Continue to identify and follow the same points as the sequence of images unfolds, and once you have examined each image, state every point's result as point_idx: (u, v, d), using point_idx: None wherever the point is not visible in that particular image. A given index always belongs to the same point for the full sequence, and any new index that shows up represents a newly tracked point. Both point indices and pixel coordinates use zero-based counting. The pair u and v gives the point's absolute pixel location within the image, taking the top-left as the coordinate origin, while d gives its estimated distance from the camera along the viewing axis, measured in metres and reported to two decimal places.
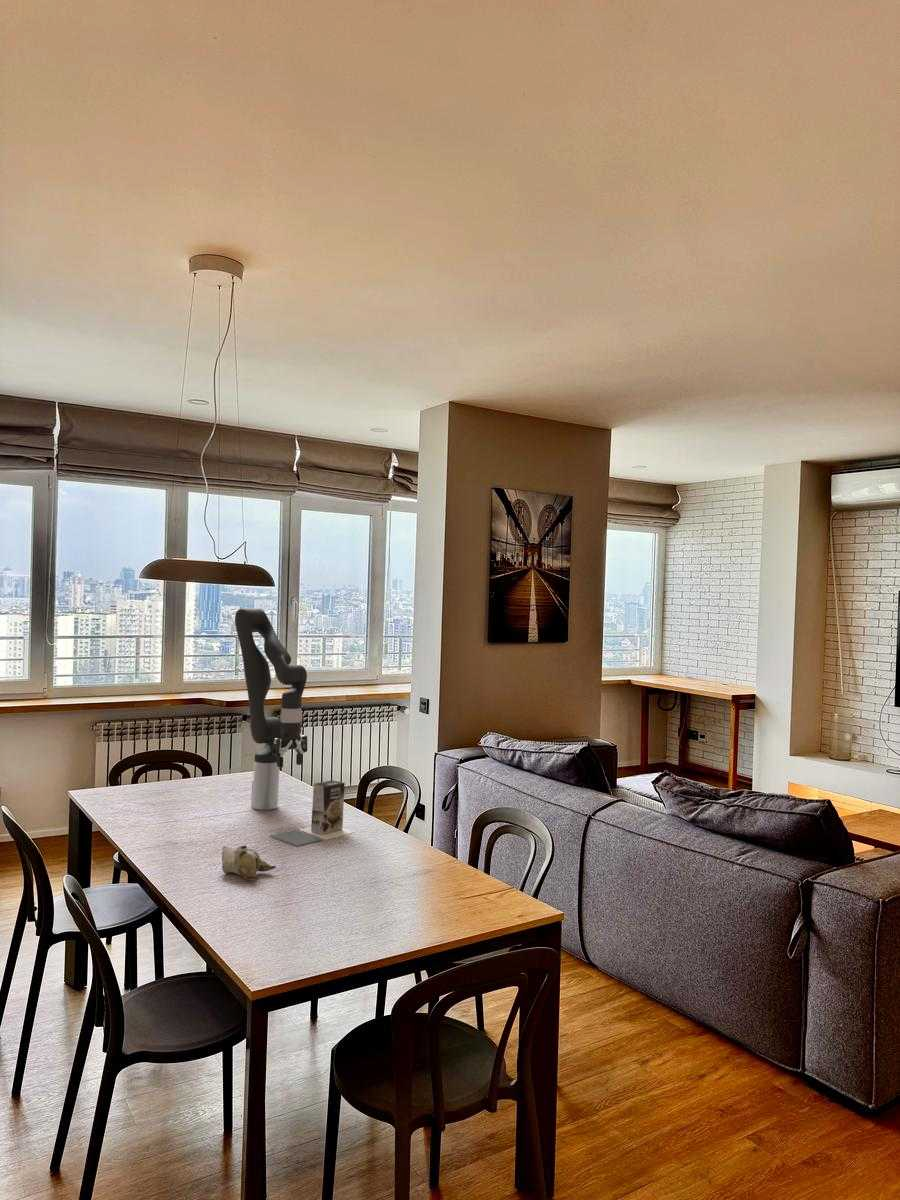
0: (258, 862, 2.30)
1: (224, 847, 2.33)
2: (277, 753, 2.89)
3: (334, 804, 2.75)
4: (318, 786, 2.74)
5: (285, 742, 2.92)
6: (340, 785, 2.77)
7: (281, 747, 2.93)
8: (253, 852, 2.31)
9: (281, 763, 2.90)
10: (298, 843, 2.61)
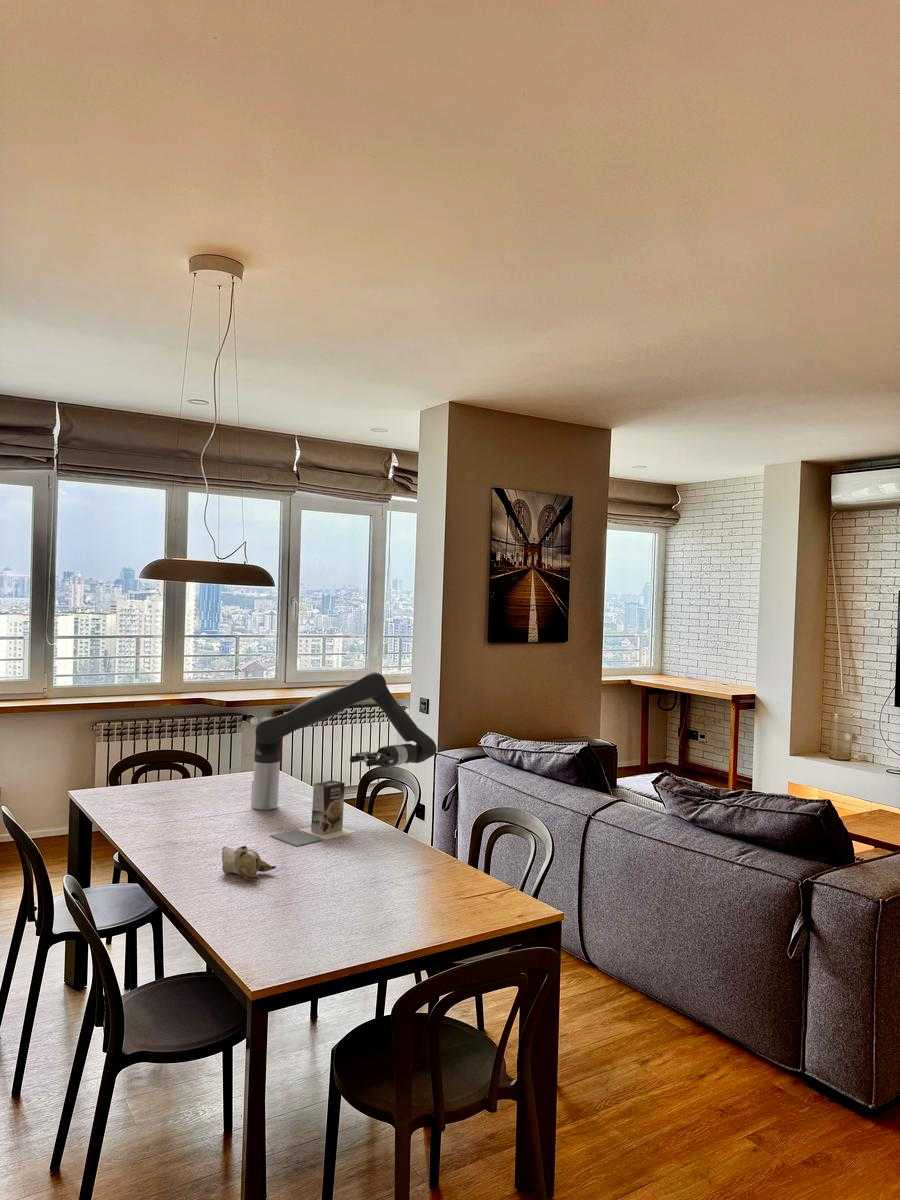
0: (258, 862, 2.30)
1: (224, 847, 2.33)
2: None
3: (334, 804, 2.75)
4: (318, 786, 2.74)
5: None
6: (340, 785, 2.77)
7: None
8: (253, 852, 2.31)
9: (370, 765, 2.85)
10: (298, 843, 2.61)
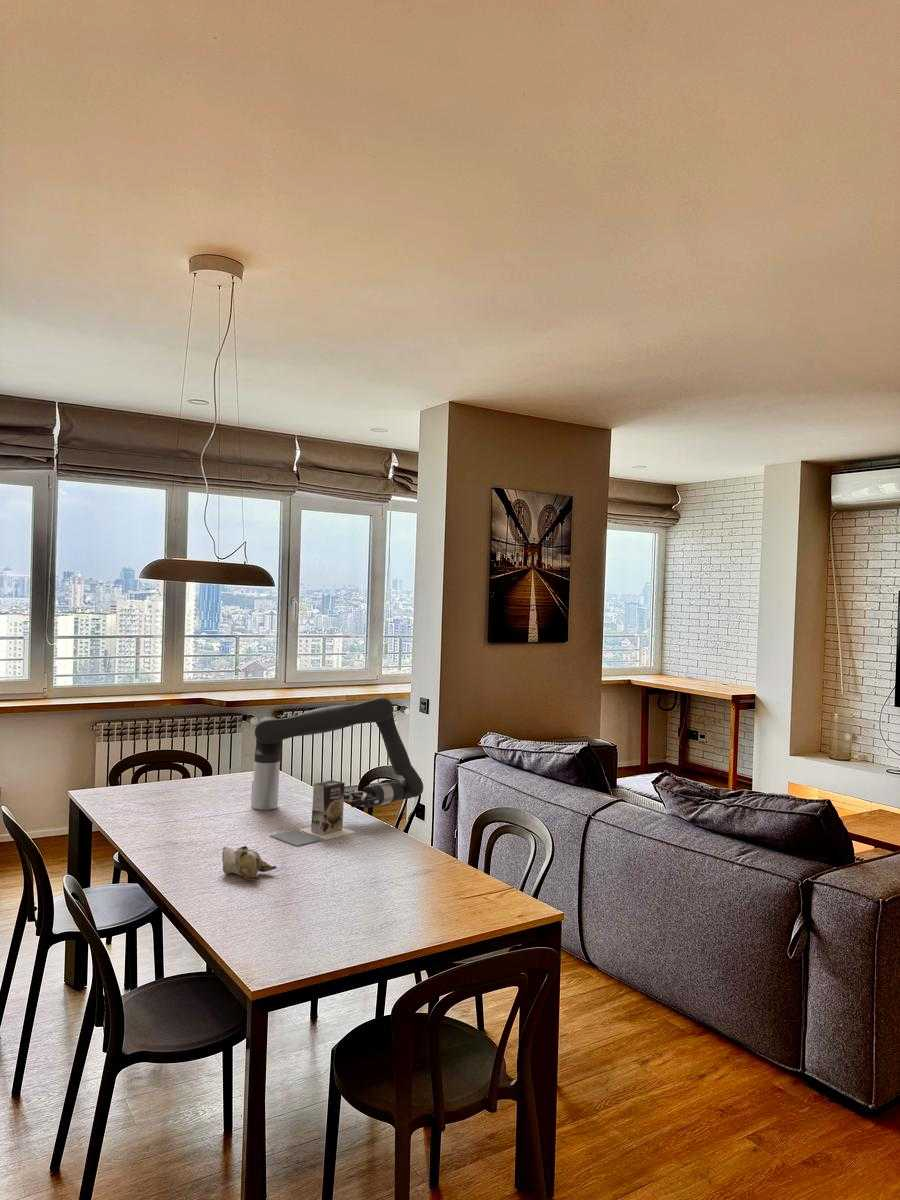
0: (259, 862, 2.30)
1: (224, 848, 2.33)
2: None
3: (334, 804, 2.75)
4: (318, 786, 2.74)
5: None
6: (340, 785, 2.77)
7: None
8: (254, 852, 2.30)
9: (355, 806, 2.80)
10: (298, 843, 2.61)
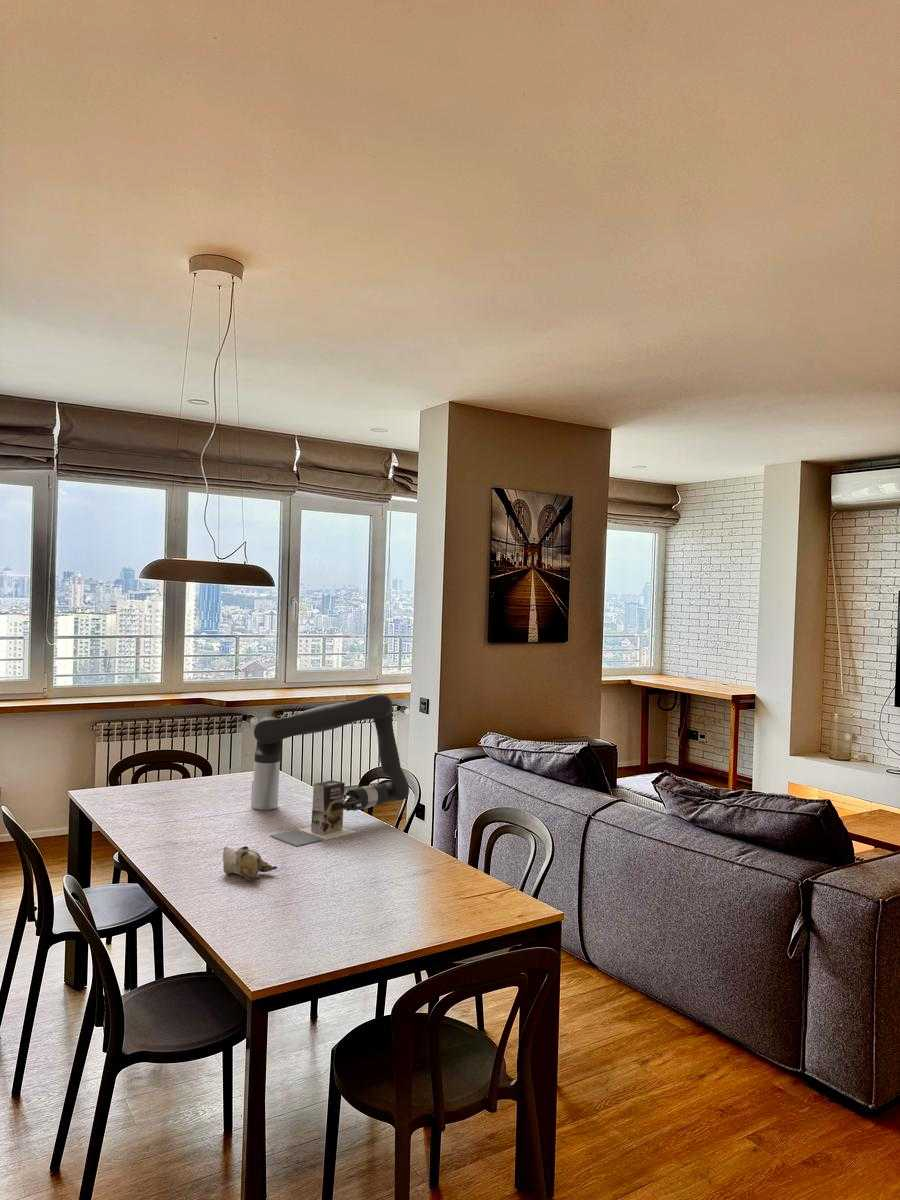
0: (260, 863, 2.30)
1: (225, 848, 2.33)
2: None
3: None
4: (318, 786, 2.74)
5: (351, 806, 2.81)
6: (340, 785, 2.77)
7: None
8: (254, 853, 2.30)
9: (336, 809, 2.74)
10: (298, 843, 2.61)
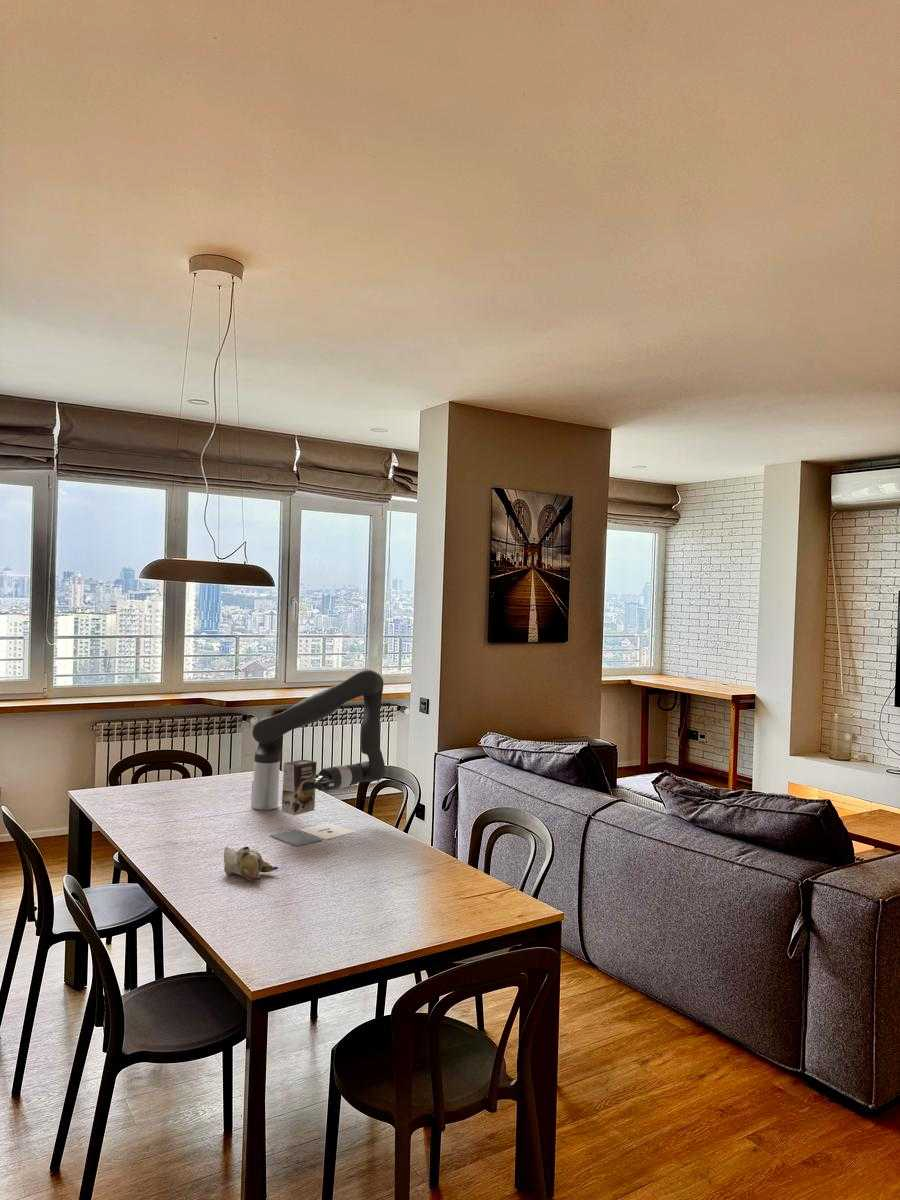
0: (261, 863, 2.29)
1: (226, 848, 2.32)
2: None
3: None
4: (288, 765, 2.64)
5: (323, 786, 2.71)
6: (312, 764, 2.67)
7: None
8: (255, 853, 2.30)
9: (307, 789, 2.65)
10: (298, 843, 2.61)
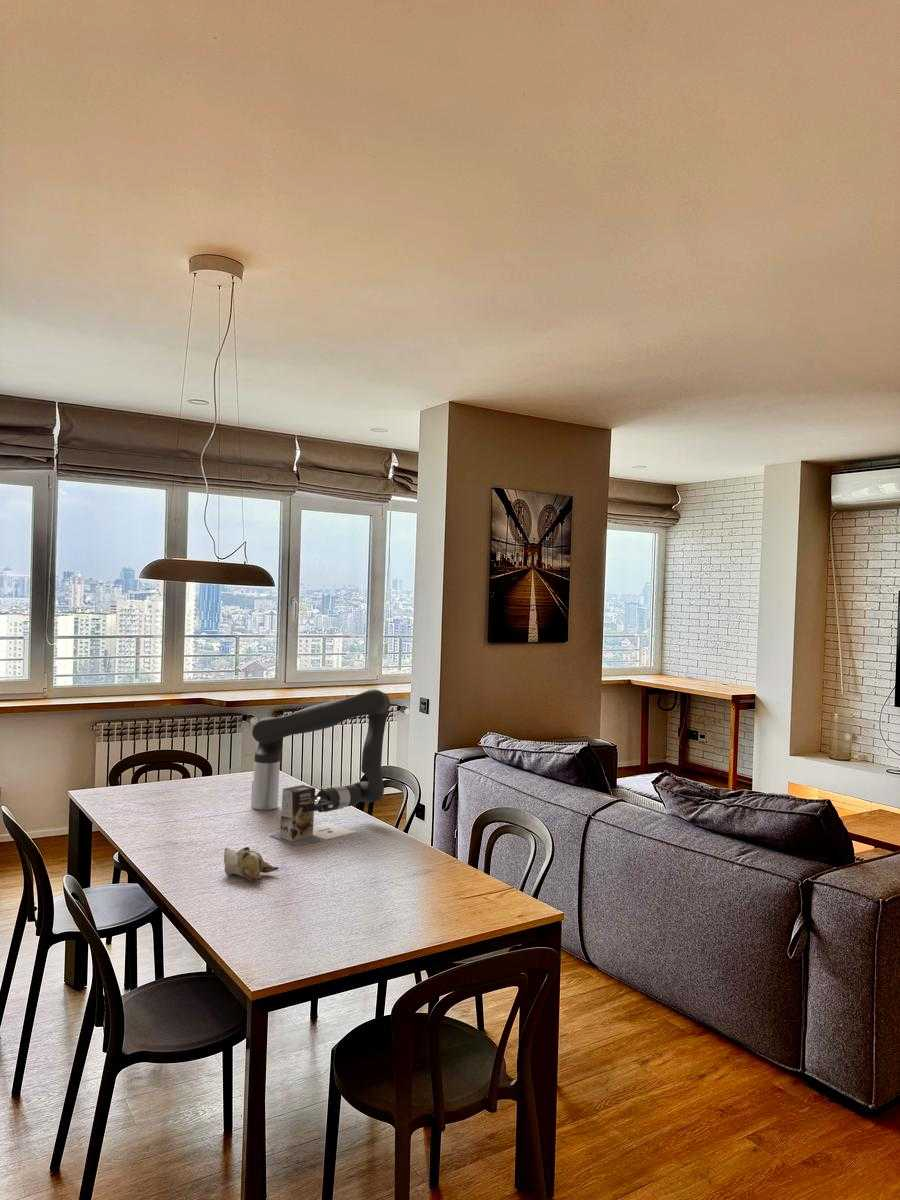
0: (261, 863, 2.29)
1: (226, 849, 2.32)
2: None
3: None
4: (287, 791, 2.64)
5: (322, 807, 2.71)
6: (310, 790, 2.67)
7: None
8: (256, 853, 2.30)
9: (307, 811, 2.65)
10: (298, 843, 2.61)
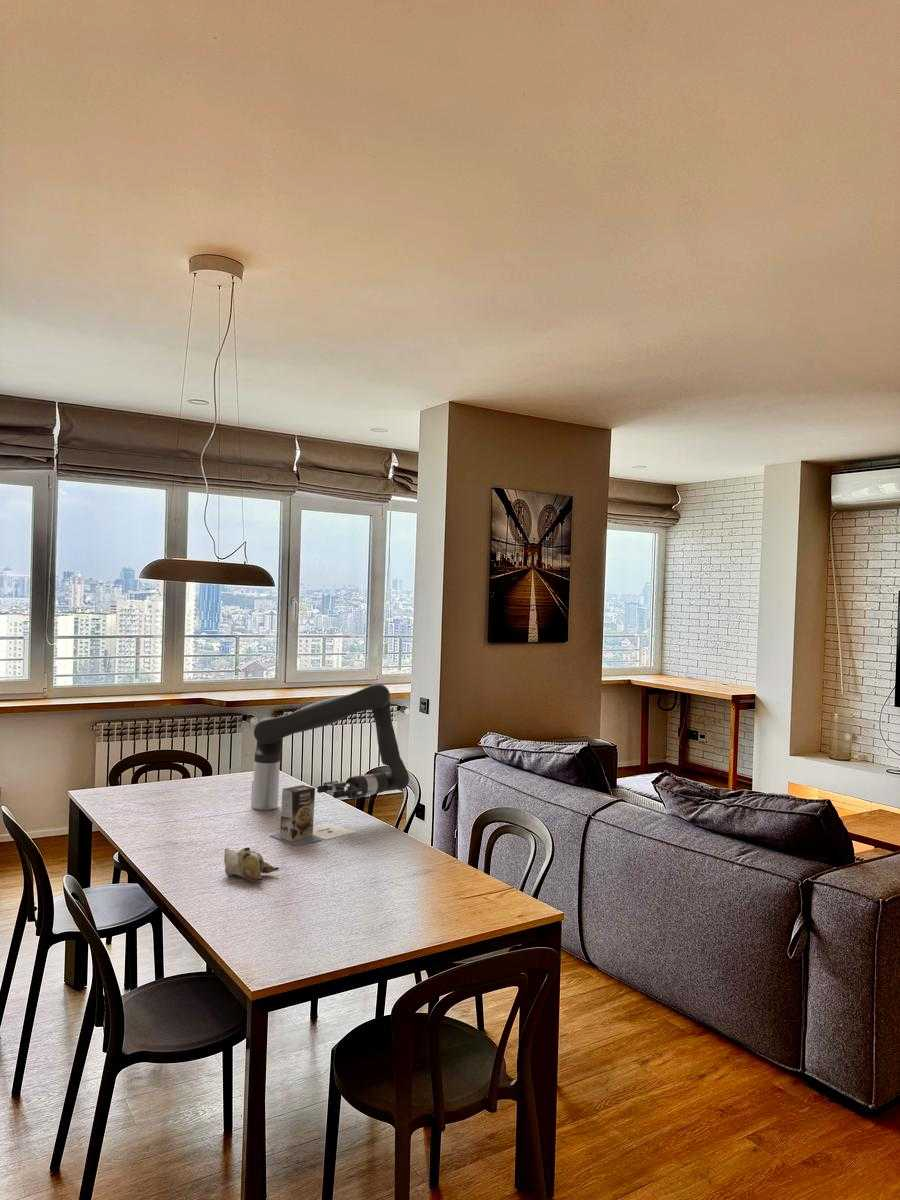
0: (262, 864, 2.29)
1: (226, 849, 2.31)
2: None
3: (303, 810, 2.65)
4: (287, 791, 2.64)
5: (351, 793, 2.82)
6: (310, 790, 2.67)
7: None
8: (257, 854, 2.29)
9: (337, 797, 2.75)
10: (298, 843, 2.61)
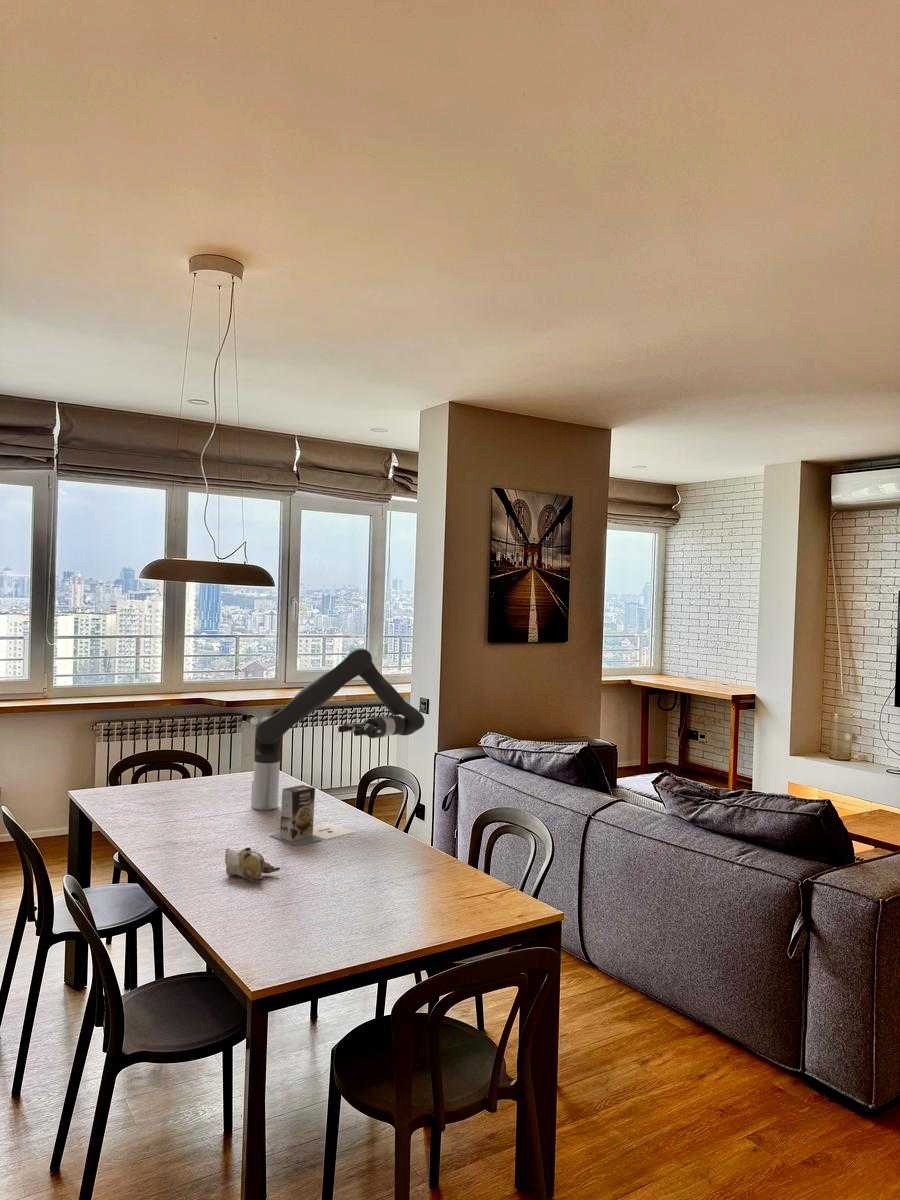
0: (263, 864, 2.29)
1: (227, 849, 2.31)
2: None
3: (303, 810, 2.65)
4: (287, 791, 2.64)
5: (370, 732, 2.94)
6: (310, 790, 2.67)
7: None
8: (257, 854, 2.29)
9: (358, 735, 2.88)
10: (298, 843, 2.61)
